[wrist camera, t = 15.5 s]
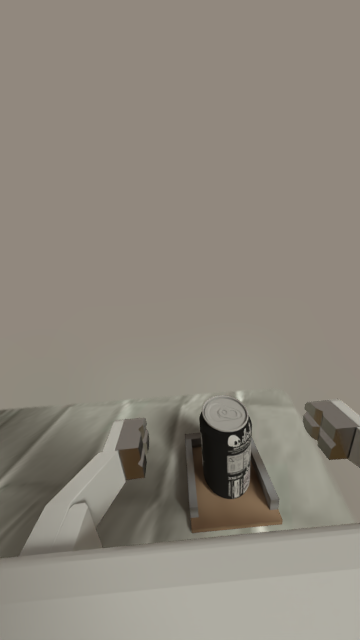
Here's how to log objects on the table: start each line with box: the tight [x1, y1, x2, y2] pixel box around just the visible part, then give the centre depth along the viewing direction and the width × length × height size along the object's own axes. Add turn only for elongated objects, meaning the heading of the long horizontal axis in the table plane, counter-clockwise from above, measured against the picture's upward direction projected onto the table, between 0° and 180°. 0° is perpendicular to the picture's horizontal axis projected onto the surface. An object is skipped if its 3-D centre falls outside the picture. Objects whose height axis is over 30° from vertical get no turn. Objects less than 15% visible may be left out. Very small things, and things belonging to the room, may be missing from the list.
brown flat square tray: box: [185, 433, 282, 533], centre depth 27 cm, size 11×11×3 cm
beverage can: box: [199, 395, 252, 499], centre depth 25 cm, size 7×7×12 cm
